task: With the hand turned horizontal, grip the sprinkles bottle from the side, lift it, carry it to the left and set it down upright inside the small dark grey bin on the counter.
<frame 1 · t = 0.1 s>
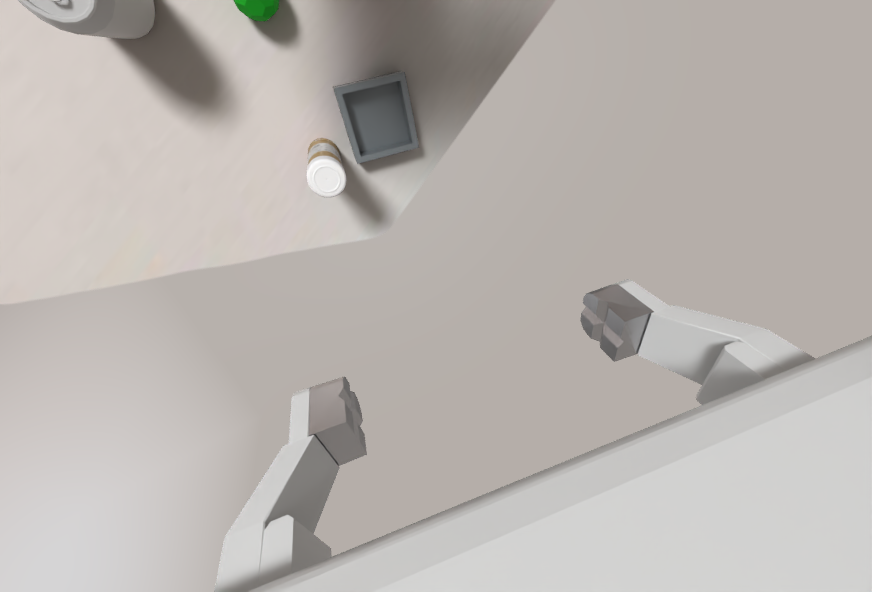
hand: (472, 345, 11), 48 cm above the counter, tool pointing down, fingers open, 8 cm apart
bin: (376, 117, 48), on the counter
sprinkles bottle: (324, 153, 49), on the counter
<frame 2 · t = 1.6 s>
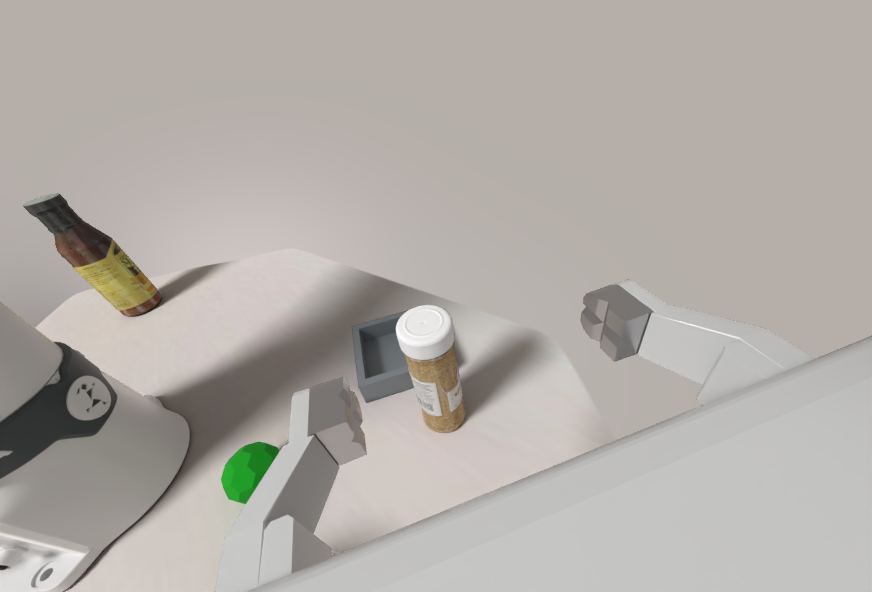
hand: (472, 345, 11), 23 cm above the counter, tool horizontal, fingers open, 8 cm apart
polyhedron: (267, 483, 31), on the counter
sauce bottle: (144, 306, 58), on the counter
bin: (400, 358, 41), on the counter
sprinkles bottle: (444, 414, 34), on the counter
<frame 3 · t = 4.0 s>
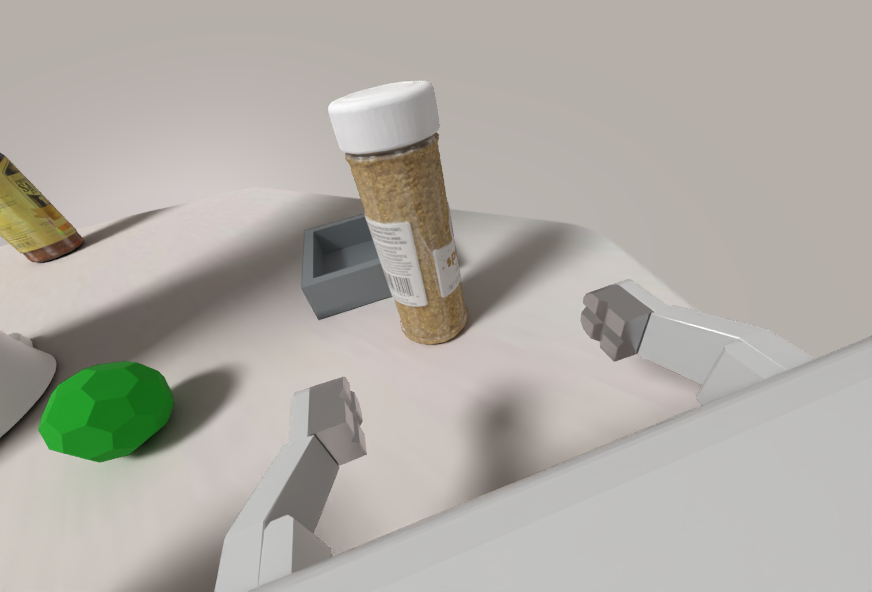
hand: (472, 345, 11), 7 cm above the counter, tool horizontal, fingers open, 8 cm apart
polyhedron: (147, 434, 19), on the counter
sauce bottle: (61, 253, 46), on the counter
bin: (372, 268, 29), on the counter
sprinkles bottle: (434, 324, 22), on the counter
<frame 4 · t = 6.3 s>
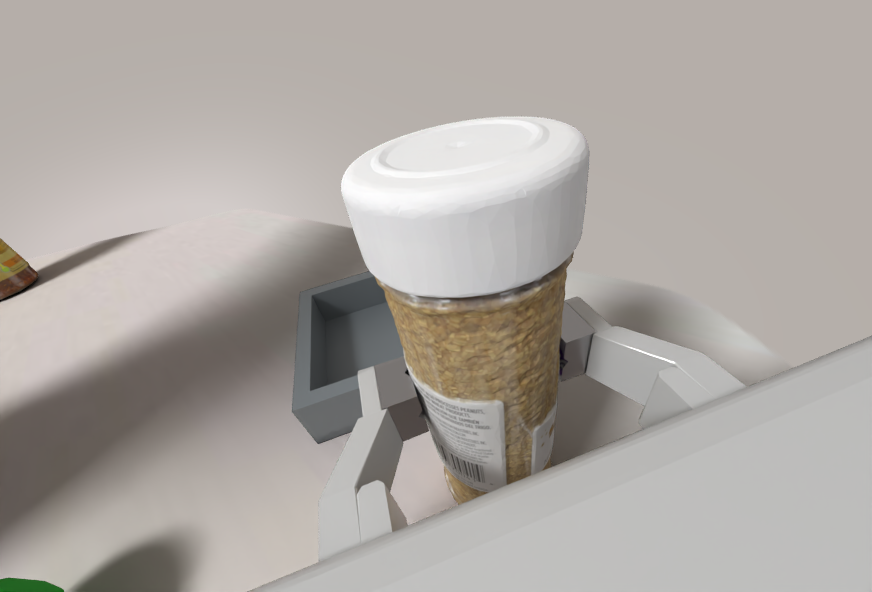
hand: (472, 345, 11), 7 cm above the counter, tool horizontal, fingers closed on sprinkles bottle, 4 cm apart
sauce bottle: (10, 291, 38), on the counter
bin: (392, 347, 21), on the counter
sprinkles bottle: (495, 469, 14), on the counter, touching gripper
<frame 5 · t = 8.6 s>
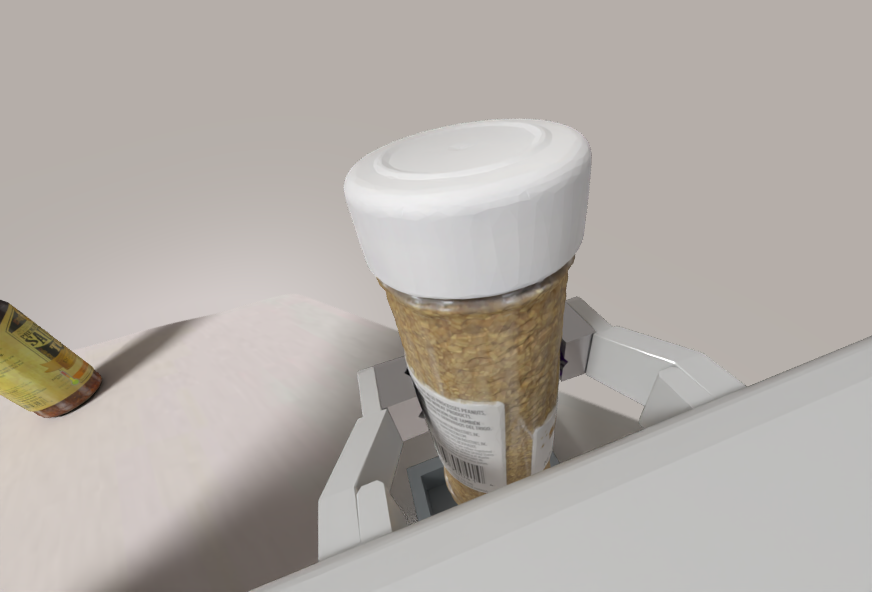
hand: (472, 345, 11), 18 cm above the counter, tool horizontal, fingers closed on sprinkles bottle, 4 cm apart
sauce bottle: (76, 397, 39), on the counter
bin: (503, 532, 21), on the counter
sprinkles bottle: (495, 470, 14), point 10 cm above the counter, touching gripper
when the fingers open (9 cm above the counter, at t = 10.7 s): sprinkles bottle drops 1 cm, resting on bin.
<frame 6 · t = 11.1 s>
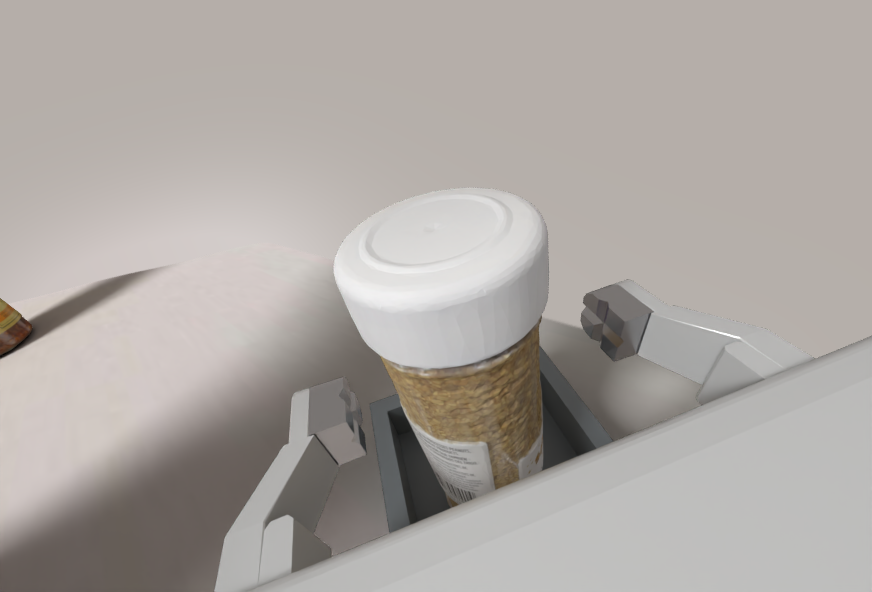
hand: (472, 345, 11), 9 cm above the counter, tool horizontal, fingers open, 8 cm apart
sauce bottle: (0, 348, 33), on the counter
bin: (498, 486, 16), on the counter
sprinkles bottle: (493, 485, 15), resting on bin
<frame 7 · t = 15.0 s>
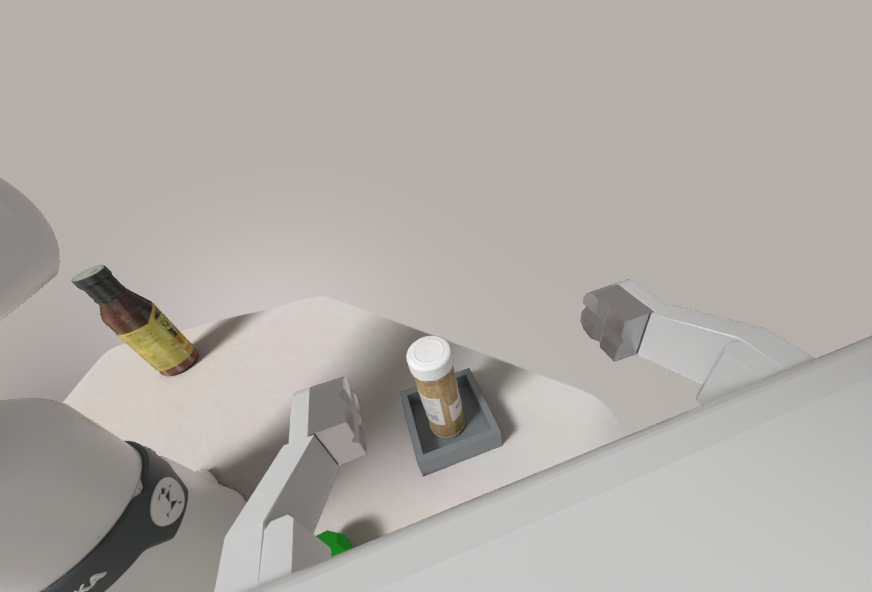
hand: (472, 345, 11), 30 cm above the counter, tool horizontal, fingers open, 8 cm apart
polyhedron: (336, 570, 32), on the counter
sauce bottle: (181, 364, 58), on the counter
bin: (449, 423, 41), on the counter
sprinkles bottle: (447, 423, 41), resting on bin
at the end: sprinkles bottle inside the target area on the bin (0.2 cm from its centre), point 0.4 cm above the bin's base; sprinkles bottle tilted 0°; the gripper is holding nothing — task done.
